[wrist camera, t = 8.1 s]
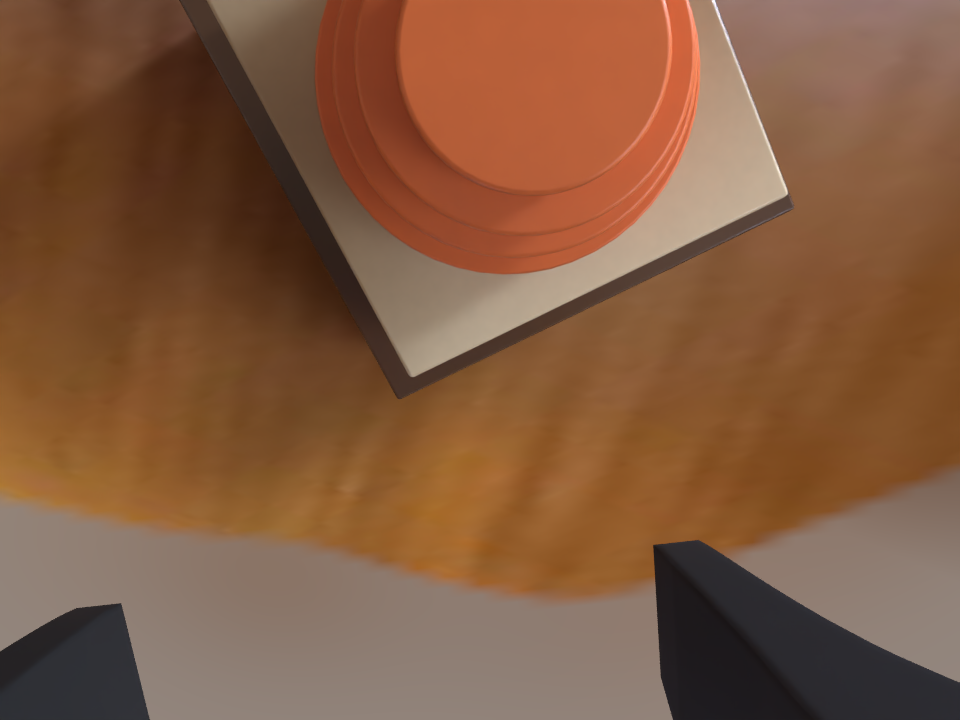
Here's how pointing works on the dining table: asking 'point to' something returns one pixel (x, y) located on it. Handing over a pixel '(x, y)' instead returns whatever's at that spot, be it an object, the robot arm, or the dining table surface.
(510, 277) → the block stack
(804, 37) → the dining table surface
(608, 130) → the cone
